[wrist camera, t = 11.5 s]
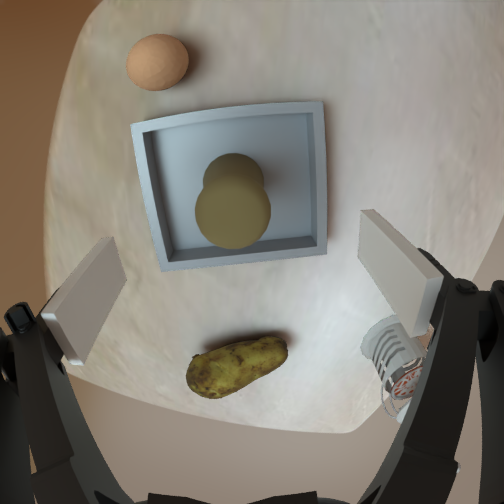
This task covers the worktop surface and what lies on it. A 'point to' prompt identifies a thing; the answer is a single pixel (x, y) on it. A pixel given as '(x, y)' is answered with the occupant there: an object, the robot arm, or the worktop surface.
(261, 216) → the cork
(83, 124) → the worktop surface
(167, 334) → the worktop surface
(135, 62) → the egg
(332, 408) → the worktop surface
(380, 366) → the french press
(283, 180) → the grey bin
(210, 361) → the potato
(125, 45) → the worktop surface
